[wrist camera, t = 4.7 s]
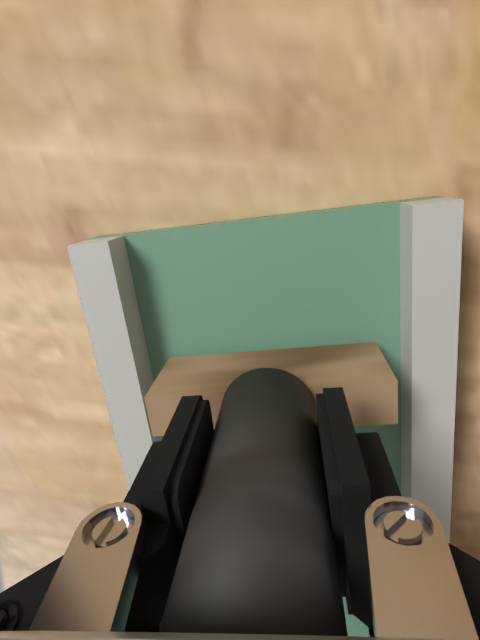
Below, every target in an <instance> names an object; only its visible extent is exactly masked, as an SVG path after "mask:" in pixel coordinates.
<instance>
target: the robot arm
mask: <svg viewBox="0 0 480 640" xmlns="http://www.w3.org/2000/svg"><path fill="white" fill-rule="evenodd" d="M316 406H317V421H318V431H319V439H320V446H321V453H322V460H323V468H324V475H325V482H326V489H327V496H328V504H329V511H330V518H331V525H332V533H333V538H334V542H335V548H336V555H337V562H338V569H339V576H340V584H341V591H342V597H346V603H347V610H348V615H354V616H355V617H357V618H358V619H359V620H360V621H361V622H363V623H364V624H365V625H366V626H367V627H368V637H355V636H316V635H273V634H223V633H169V632H159V628H160V624H161V621H162V617H163V614H164V610H165V606H166V603H167V599H168V596H169V592H170V588H171V585H172V581H173V577H174V574H175V570H176V567H177V563H178V559H179V556H180V552H181V548H182V545H183V541H184V538H185V534H186V530H187V527H188V523H189V519H190V516H191V512H192V509H193V505H194V501H195V498H196V494H197V491H198V487H199V483H200V480H201V476H202V472H203V469H204V465H205V462H206V458H207V454H208V451H209V447H210V443H211V440H212V436H213V433H214V426H213V420H212V413H211V407H210V402H209V400H203V397H202V396H201V395H195V396H182V398H181V400H180V402H179V404H178V406H177V408H176V410H175V413H174V415H173V417H172V419H171V421H170V423H169V425H168V428H167V430H166V432H165V434H164V436H163V438H162V440H161V441H158V442H154V443H153V444H152V445H151V447H150V449H149V451H148V453H147V455H146V457H145V459H144V461H143V463H142V465H141V467H140V469H139V471H138V473H137V475H136V477H135V480H134V482H133V484H132V486H131V488H130V490H129V492H128V494H127V496H126V498H125V500H124V502H117V503H112V504H108V505H105V506H103V507H100V508H98V509H96V510H95V511H93V512H92V513H90V514H89V515H88V516H87V517H86V518H85V519H83V520H82V521H81V523H80V524H79V526H78V527H77V529H76V531H75V533H74V535H73V537H72V539H71V541H70V543H69V546H68V548H67V550H66V552H65V554H64V555H63V556H62V557H60V558H58V559H57V560H55V561H53V562H52V563H50V564H48V565H47V566H45V567H43V568H42V569H40V570H38V571H37V572H35V573H33V574H32V575H30V576H28V577H27V578H25V579H23V580H22V581H20V582H18V583H17V584H15V585H13V586H12V587H10V588H8V589H7V590H5V591H3V592H2V593H0V640H480V561H479V560H477V559H475V558H473V557H472V556H470V555H468V554H466V553H465V552H463V551H461V550H459V549H458V548H456V547H454V546H453V545H451V544H449V543H448V542H447V539H446V535H445V532H444V529H443V526H442V523H441V522H440V520H439V518H438V516H437V515H436V514H435V513H434V512H433V511H432V510H431V509H430V508H429V507H428V506H426V505H424V504H423V503H421V502H419V501H417V500H414V499H411V498H408V497H402V495H401V492H400V490H399V487H398V484H397V481H396V479H395V476H394V473H393V471H392V468H391V465H390V463H389V460H388V457H387V455H386V452H385V449H384V447H383V444H382V441H381V439H380V436H379V434H378V433H377V432H367V433H356V432H355V429H354V425H353V422H352V418H351V415H350V411H349V408H348V404H347V401H346V397H345V394H344V390H343V387H334V388H323V393H318V394H316Z"/></svg>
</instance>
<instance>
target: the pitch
mask: <svg viewBox="0 0 480 640" xmlns="http://www.w3.org/2000/svg"><path fill="white" fill-rule="evenodd" d="M463 207H464V199H457V198H448V197H439V196H432V197H424V198H415V199H407V200H399V201H390V202H382V203H374V204H366V205H357V206H349V207H341V208H332V209H324V210H316V211H307V212H299V213H291V214H282V215H274V216H266V217H257V218H249V219H241V220H232V221H224V222H216V223H207V224H199V225H191V226H182V227H174V228H166V229H157V230H149V231H141V232H132V233H124V234H116V235H107V236H99V237H95V238H91V239H88V240H85V241H82V242H78V243H75V244H72V245H69V246H67V249H68V253H69V257H70V261H71V265H72V269H73V273H74V277H75V281H76V285H77V289H78V293H79V297H80V301H81V305H82V309H83V313H84V317H85V320H86V324H87V328H88V332H89V336H90V340H91V344H92V348H93V352H94V356H95V360H96V364H97V368H98V372H99V376H100V380H101V384H102V388H103V392H104V396H105V400H106V404H107V408H108V412H109V415H110V419H111V423H112V427H113V431H114V435H115V439H116V443H117V447H118V451H119V455H120V459H121V463H122V467H123V471H124V475H125V479H126V483H127V487H128V491H129V490H130V488H131V486H132V484H133V482H134V480H135V477H136V475H137V473H138V471H139V469H140V467H141V465H142V463H143V461H144V459H145V457H146V455H147V453H148V451H149V449H150V447H151V445H152V444H153V443H154V442H158V441H161V440H162V438H163V436H154V437H153V435H152V431H151V426H150V422H149V417H148V413H147V408H146V403H145V399H144V397H145V395H146V394H147V392H148V390H149V389H150V387H151V386H152V384H153V383H154V381H155V380H156V378H157V376H158V375H159V373H160V372H161V370H162V369H163V367H164V365H165V364H166V362H167V361H168V359H169V358H172V357H185V356H198V355H211V354H224V353H236V352H249V351H262V350H275V349H288V348H301V347H314V346H327V345H340V344H353V343H366V342H376V343H377V345H378V347H379V349H380V350H381V352H382V354H383V356H384V358H385V359H386V361H387V363H388V365H389V366H390V368H391V370H392V372H393V373H394V375H395V377H396V379H397V380H398V424H388V425H369V426H354V429H355V432H356V433H367V432H377V433H378V434H379V436H380V439H381V441H382V444H383V447H384V449H385V452H386V455H387V457H388V460H389V463H390V465H391V468H392V471H393V473H394V476H395V479H396V481H397V484H398V487H399V490H400V492H401V495H402V497H408V498H411V499H414V500H417V501H419V502H421V503H423V504H424V505H426V506H428V507H429V508H430V509H431V510H432V511H433V512H434V513H435V514H436V515H437V516H438V518H439V520H440V522H441V523H442V526H443V529H444V532H445V535H446V539H447V542H448V543H449V544H450V528H451V503H452V478H453V454H454V429H455V404H456V380H457V355H458V330H459V306H460V281H461V256H462V232H463ZM342 598H343V605H344V612H345V619H346V626H347V633H348V636H355V637H368V627H367V626H366V625H365V624H364V623H363V622H361V621H360V620H359V619H358V618H357V617H355V616H354V615H348V610H347V603H346V597H342Z"/></svg>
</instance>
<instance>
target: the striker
mask: <svg viewBox="0 0 480 640" xmlns="http://www.w3.org/2000/svg"><path fill="white" fill-rule="evenodd" d="M334 387H343V390H344V394H345V397H346V401H347V404H348V408H349V411H350V415H351V418H352V422H353V425H354V426H369V425H388V424H398V380H397V379H396V377H395V375H394V373H393V372H392V370H391V368H390V366H389V365H388V363H387V361H386V359H385V358H384V356H383V354H382V352H381V350H380V349H379V347H378V345H377V343H376V342H366V343H353V344H340V345H327V346H314V347H301V348H288V349H275V350H262V351H249V352H236V353H224V354H211V355H198V356H185V357H172V358H169V359H168V361H167V362H166V364H165V365H164V367H163V369H162V370H161V372H160V373H159V375H158V376H157V378H156V380H155V381H154V383H153V384H152V386H151V387H150V389H149V390H148V392H147V394H146V395H145V397H144V399H145V403H146V408H147V413H148V417H149V422H150V426H151V431H152V435H153V437H154V436H164V434H165V432H166V430H167V428H168V425H169V423H170V421H171V419H172V417H173V415H174V413H175V410H176V408H177V406H178V404H179V402H180V400H181V398H182V396H195V395H201V396H202V397H203V400H209V402H210V407H211V413H212V420H213V426H214V433H213V436H212V440H211V443H210V447H209V451H208V454H207V458H206V462H205V465H204V469H203V472H202V476H201V480H200V483H199V487H198V491H197V494H196V498H195V501H194V505H193V509H192V512H191V516H190V519H189V523H188V527H187V530H186V534H185V538H184V541H183V545H182V548H181V552H180V556H179V559H178V563H177V567H176V570H175V574H174V577H173V581H172V585H171V588H170V592H169V596H168V599H167V603H166V606H165V610H164V614H163V617H162V621H161V624H160V628H159V632H169V633H223V634H273V635H316V636H348V633H347V626H346V619H345V612H344V605H343V598H342V591H341V584H340V576H339V569H338V562H337V555H336V548H335V542H334V538H333V533H332V525H331V518H330V511H329V504H328V496H327V489H326V482H325V475H324V468H323V460H322V453H321V446H320V439H319V431H318V421H317V406H316V394H318V393H323V388H334Z"/></svg>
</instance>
